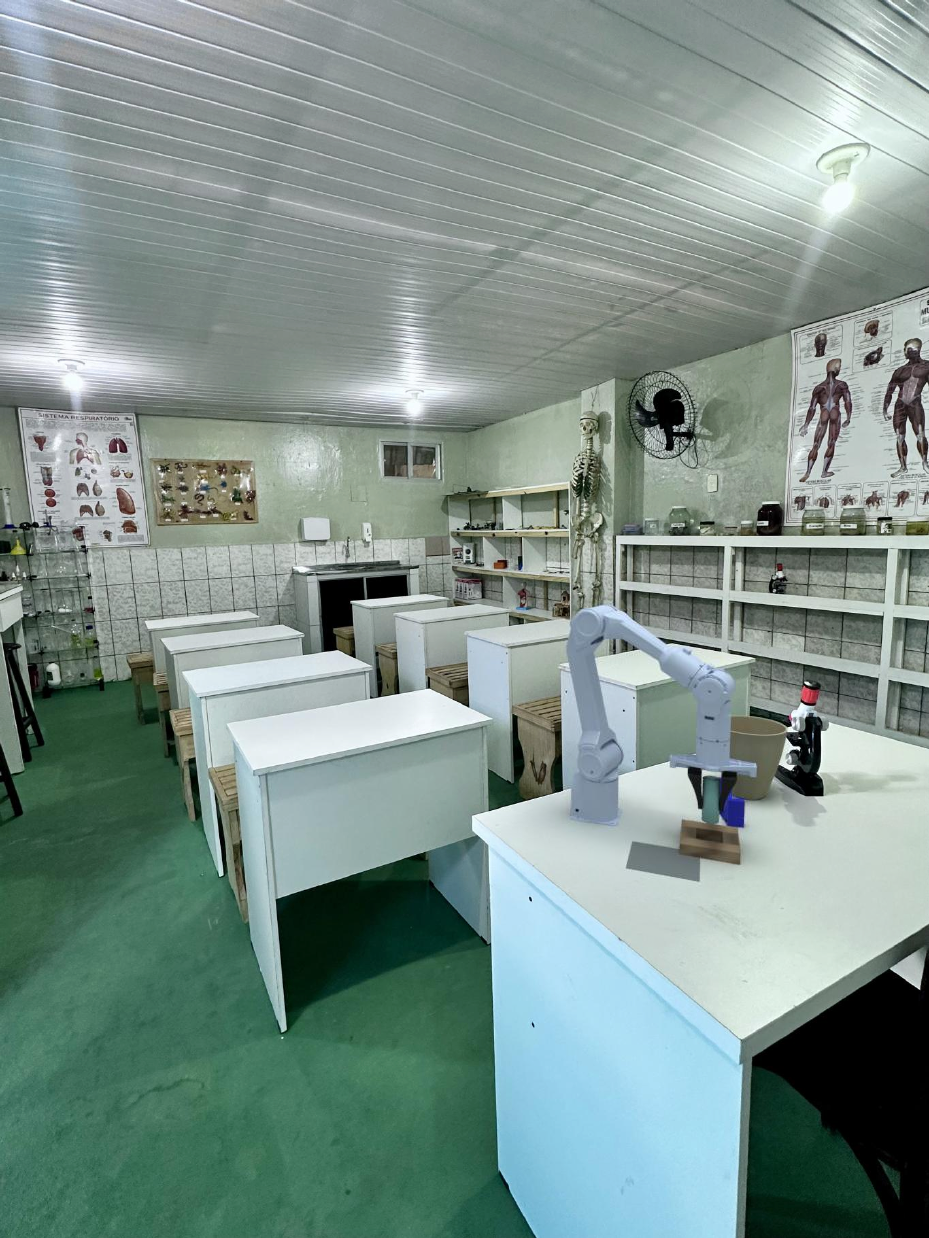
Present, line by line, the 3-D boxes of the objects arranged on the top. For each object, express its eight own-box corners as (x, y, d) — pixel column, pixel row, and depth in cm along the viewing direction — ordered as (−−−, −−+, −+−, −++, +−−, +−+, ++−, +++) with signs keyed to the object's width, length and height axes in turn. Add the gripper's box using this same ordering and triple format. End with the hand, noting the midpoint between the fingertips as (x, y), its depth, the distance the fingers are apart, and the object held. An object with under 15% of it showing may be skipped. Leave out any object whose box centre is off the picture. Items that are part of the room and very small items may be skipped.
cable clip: (706, 802, 130) (707, 776, 129) (728, 804, 129) (730, 777, 128) (719, 828, 118) (720, 800, 117) (743, 830, 117) (745, 801, 116)
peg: (700, 822, 109) (702, 780, 108) (702, 815, 111) (703, 774, 110) (718, 825, 108) (720, 783, 106) (719, 818, 110) (720, 776, 109)
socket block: (679, 856, 108) (679, 843, 107) (681, 831, 117) (681, 819, 116) (739, 866, 104) (740, 853, 104) (737, 839, 113) (737, 827, 113)
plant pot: (799, 804, 128) (803, 732, 126) (734, 809, 126) (738, 737, 124) (757, 777, 142) (760, 713, 140) (698, 781, 140) (700, 716, 138)
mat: (625, 870, 103) (625, 867, 103) (632, 843, 113) (632, 841, 113) (699, 883, 99) (699, 881, 99) (700, 854, 108) (700, 852, 108)
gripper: (669, 739, 107) (667, 811, 108) (759, 748, 101) (755, 824, 103) (671, 728, 113) (669, 796, 115) (756, 736, 108) (752, 807, 109)
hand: (710, 808), depth 109 cm, fingers closed on peg, 3 cm apart
